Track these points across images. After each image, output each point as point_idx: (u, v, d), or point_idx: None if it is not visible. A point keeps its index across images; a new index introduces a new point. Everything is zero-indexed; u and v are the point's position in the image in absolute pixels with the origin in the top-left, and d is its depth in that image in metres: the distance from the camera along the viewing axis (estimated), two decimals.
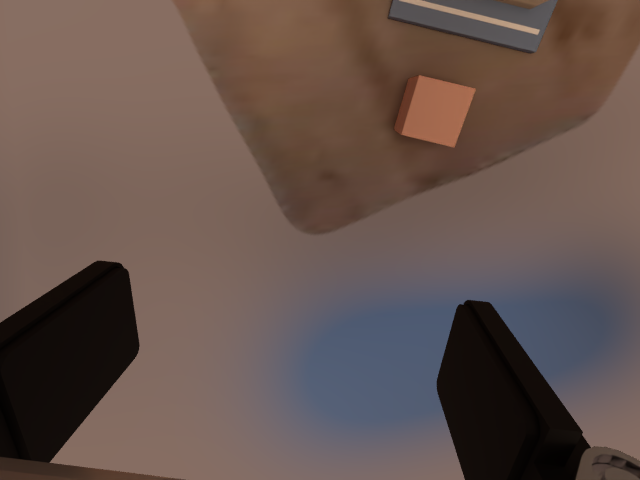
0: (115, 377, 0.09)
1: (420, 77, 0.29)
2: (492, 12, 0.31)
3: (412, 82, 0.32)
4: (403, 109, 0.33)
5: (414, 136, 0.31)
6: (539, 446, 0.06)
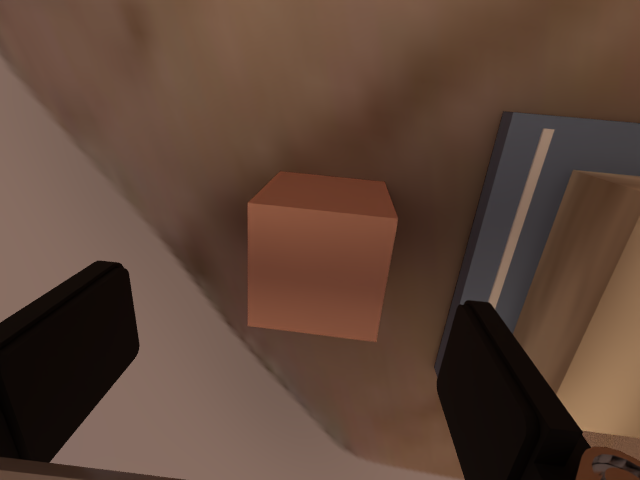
0: (115, 377, 0.09)
1: (392, 222, 0.11)
2: (503, 307, 0.17)
3: (378, 197, 0.13)
4: (318, 188, 0.14)
5: (251, 236, 0.12)
6: (539, 446, 0.06)
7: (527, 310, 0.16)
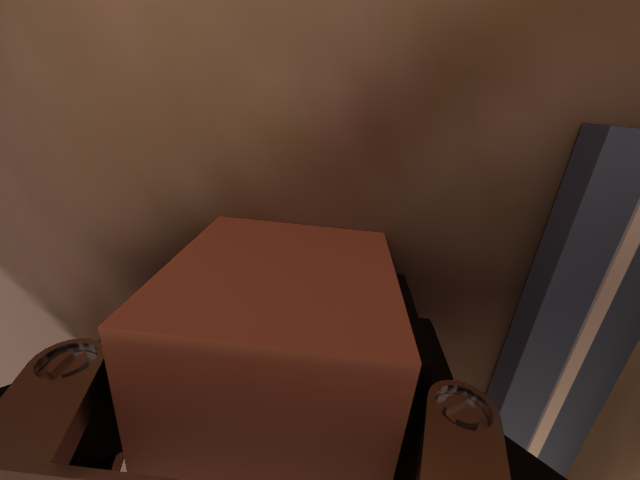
0: None
1: (410, 370, 0.05)
2: (566, 420, 0.11)
3: (376, 281, 0.07)
4: (270, 259, 0.08)
5: (116, 386, 0.06)
6: None
7: (605, 430, 0.11)
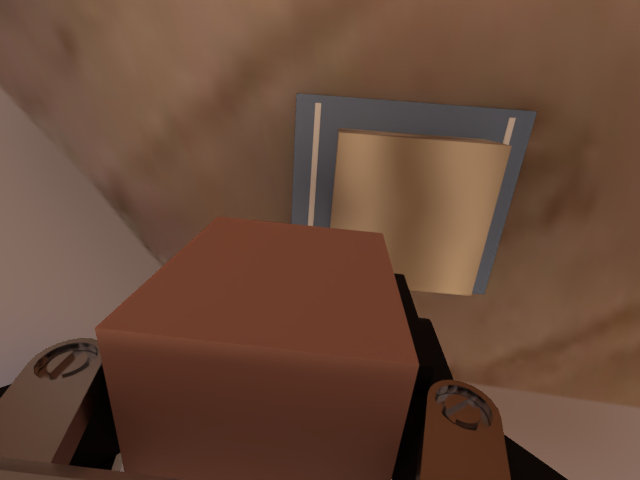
0: None
1: (407, 371, 0.05)
2: (319, 221, 0.26)
3: (374, 282, 0.07)
4: (268, 260, 0.08)
5: (113, 387, 0.06)
6: None
7: None
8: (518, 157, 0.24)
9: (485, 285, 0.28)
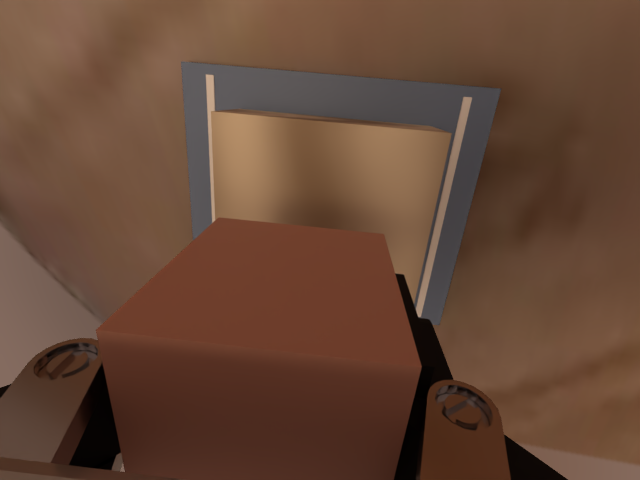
0: None
1: (410, 373, 0.05)
2: None
3: (375, 283, 0.07)
4: (269, 261, 0.08)
5: (114, 389, 0.06)
6: None
7: None
8: (477, 151, 0.18)
9: (440, 314, 0.22)
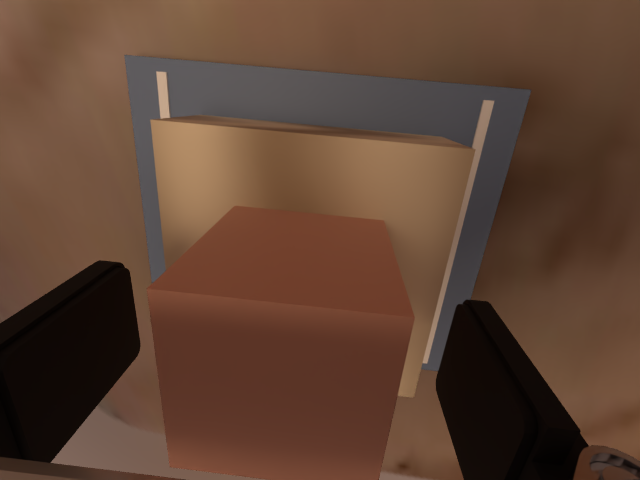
0: (116, 377, 0.09)
1: (405, 323, 0.06)
2: None
3: (377, 258, 0.08)
4: (284, 240, 0.09)
5: (159, 341, 0.07)
6: (537, 445, 0.06)
7: None
8: (499, 168, 0.14)
9: None
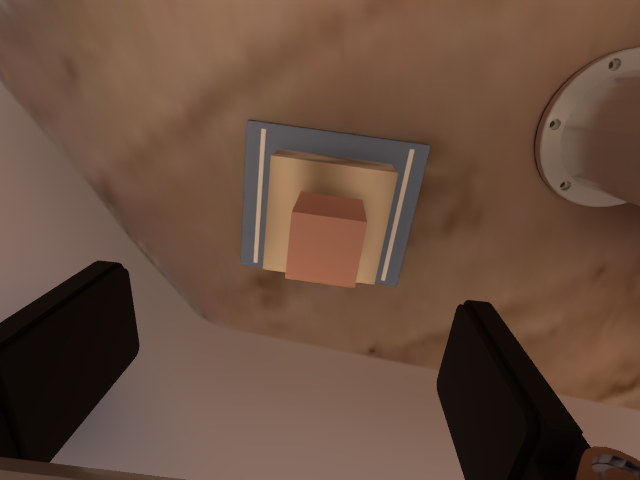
0: (115, 377, 0.09)
1: (364, 224, 0.22)
2: (264, 220, 0.33)
3: (358, 210, 0.25)
4: (325, 203, 0.25)
5: (291, 228, 0.23)
6: (539, 446, 0.06)
7: None
8: (418, 179, 0.31)
9: (397, 279, 0.34)
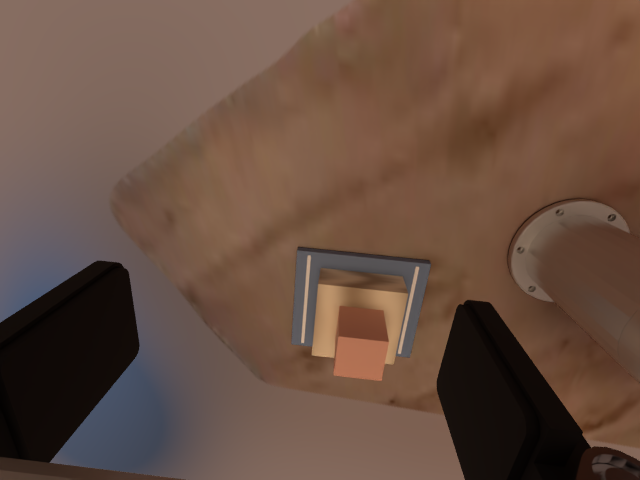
0: (115, 377, 0.09)
1: (387, 343, 0.34)
2: (309, 314, 0.44)
3: (381, 326, 0.36)
4: (358, 321, 0.36)
5: (338, 346, 0.34)
6: (539, 446, 0.06)
7: None
8: (422, 286, 0.42)
9: (409, 352, 0.46)
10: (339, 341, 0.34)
